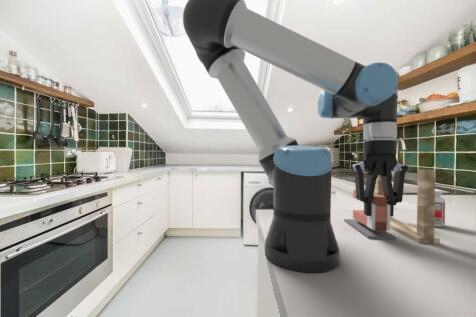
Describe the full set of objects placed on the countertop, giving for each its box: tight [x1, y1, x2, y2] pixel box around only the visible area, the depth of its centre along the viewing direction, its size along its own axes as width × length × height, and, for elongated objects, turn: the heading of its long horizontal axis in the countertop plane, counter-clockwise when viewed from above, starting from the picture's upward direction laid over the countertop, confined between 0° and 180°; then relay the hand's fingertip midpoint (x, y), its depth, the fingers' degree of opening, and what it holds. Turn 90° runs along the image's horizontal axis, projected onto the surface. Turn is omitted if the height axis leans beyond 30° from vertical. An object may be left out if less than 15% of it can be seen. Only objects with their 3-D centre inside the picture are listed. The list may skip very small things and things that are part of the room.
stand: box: [374, 169, 441, 245], centre depth 66 cm, size 5×23×18 cm, turn 175°
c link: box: [352, 189, 387, 231], centre depth 65 cm, size 13×3×9 cm, turn 175°
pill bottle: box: [434, 189, 446, 228], centre depth 70 cm, size 6×6×11 cm
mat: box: [343, 218, 397, 241], centre depth 65 cm, size 7×16×1 cm, turn 175°
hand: (378, 228), depth 59 cm, fingers closed on c link, 3 cm apart
